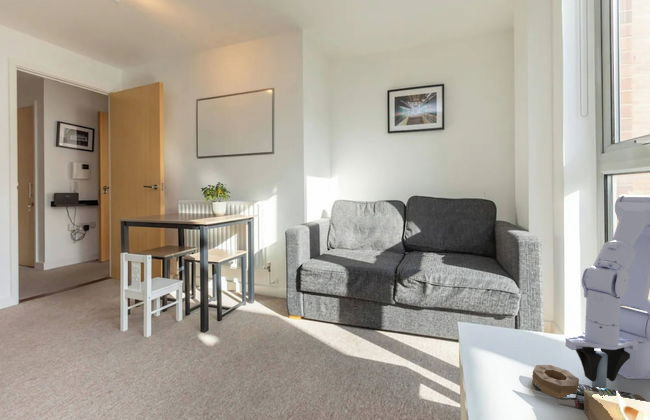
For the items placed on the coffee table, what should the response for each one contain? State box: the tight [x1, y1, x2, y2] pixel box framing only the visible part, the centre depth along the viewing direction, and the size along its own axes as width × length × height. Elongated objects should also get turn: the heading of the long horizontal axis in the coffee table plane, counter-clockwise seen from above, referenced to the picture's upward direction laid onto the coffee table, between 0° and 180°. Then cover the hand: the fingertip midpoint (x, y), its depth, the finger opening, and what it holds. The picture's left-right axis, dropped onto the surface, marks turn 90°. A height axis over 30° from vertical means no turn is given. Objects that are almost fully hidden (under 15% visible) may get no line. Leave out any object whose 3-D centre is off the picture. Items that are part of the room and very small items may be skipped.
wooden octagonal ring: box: [532, 364, 580, 399], centre depth 72 cm, size 8×8×3 cm
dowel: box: [591, 350, 608, 389], centre depth 71 cm, size 2×2×8 cm
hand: (599, 378), depth 71 cm, fingers open, 4 cm apart
